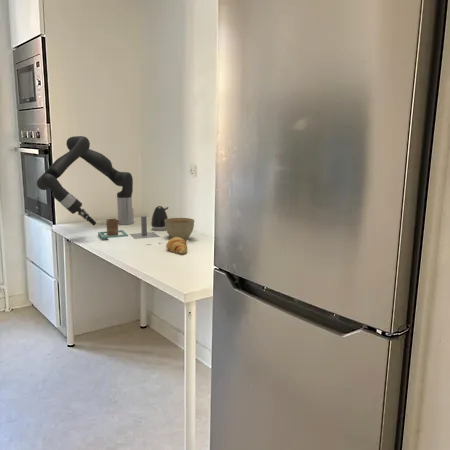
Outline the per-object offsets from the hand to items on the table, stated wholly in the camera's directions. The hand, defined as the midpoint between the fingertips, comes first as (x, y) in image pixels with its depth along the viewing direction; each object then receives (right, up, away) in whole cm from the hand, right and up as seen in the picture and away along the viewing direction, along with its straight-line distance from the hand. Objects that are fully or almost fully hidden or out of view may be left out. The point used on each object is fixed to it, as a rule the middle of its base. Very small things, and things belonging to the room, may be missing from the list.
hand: (94, 222), depth 244 cm
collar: (+9, -7, +6) cm, 13 cm away
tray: (+9, -8, +6) cm, 13 cm away
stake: (+27, -8, +5) cm, 28 cm away
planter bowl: (+47, -9, 0) cm, 48 cm away
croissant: (+48, -14, -23) cm, 55 cm away
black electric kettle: (+33, -5, +22) cm, 40 cm away
